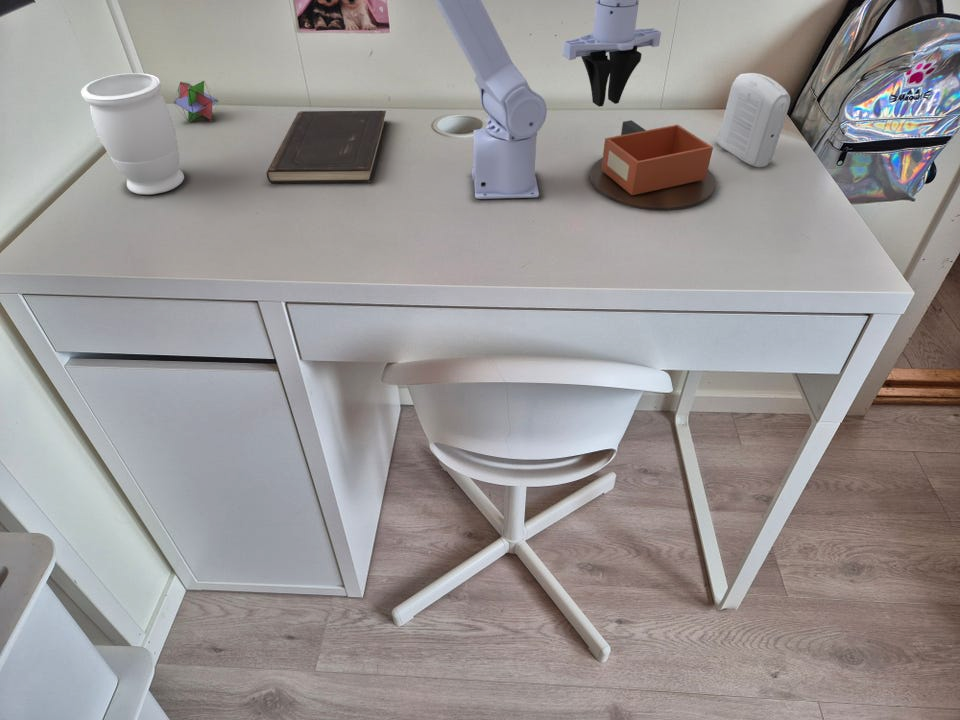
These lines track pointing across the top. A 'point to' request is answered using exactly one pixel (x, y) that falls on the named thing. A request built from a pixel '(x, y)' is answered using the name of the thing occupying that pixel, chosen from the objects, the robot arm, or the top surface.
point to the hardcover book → (329, 148)
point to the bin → (655, 158)
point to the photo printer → (754, 118)
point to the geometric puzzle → (195, 100)
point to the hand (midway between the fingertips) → (605, 102)
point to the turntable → (654, 192)
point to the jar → (136, 130)
